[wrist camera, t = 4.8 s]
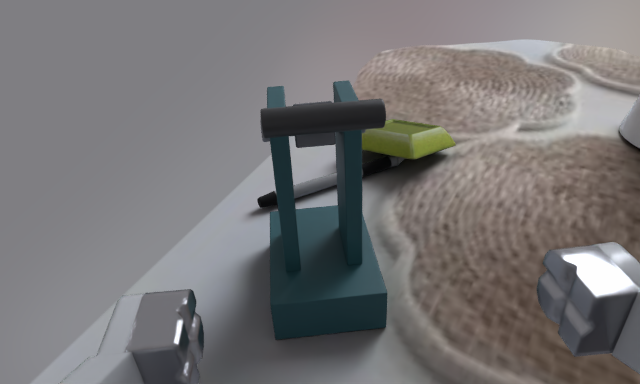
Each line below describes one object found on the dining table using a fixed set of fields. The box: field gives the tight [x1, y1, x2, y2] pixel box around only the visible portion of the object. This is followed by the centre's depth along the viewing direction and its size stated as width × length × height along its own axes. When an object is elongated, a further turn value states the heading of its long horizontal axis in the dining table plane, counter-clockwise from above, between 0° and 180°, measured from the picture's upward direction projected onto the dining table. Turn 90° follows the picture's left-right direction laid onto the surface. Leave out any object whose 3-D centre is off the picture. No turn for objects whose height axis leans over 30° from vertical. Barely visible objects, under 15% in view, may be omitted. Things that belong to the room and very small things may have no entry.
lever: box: [261, 99, 386, 148], centre depth 23 cm, size 10×5×2 cm, turn 5°
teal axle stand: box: [261, 81, 387, 340], centre depth 29 cm, size 10×7×14 cm
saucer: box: [362, 119, 456, 159], centre depth 48 cm, size 9×9×2 cm
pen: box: [258, 156, 405, 208], centre depth 44 cm, size 1×16×1 cm, turn 119°
